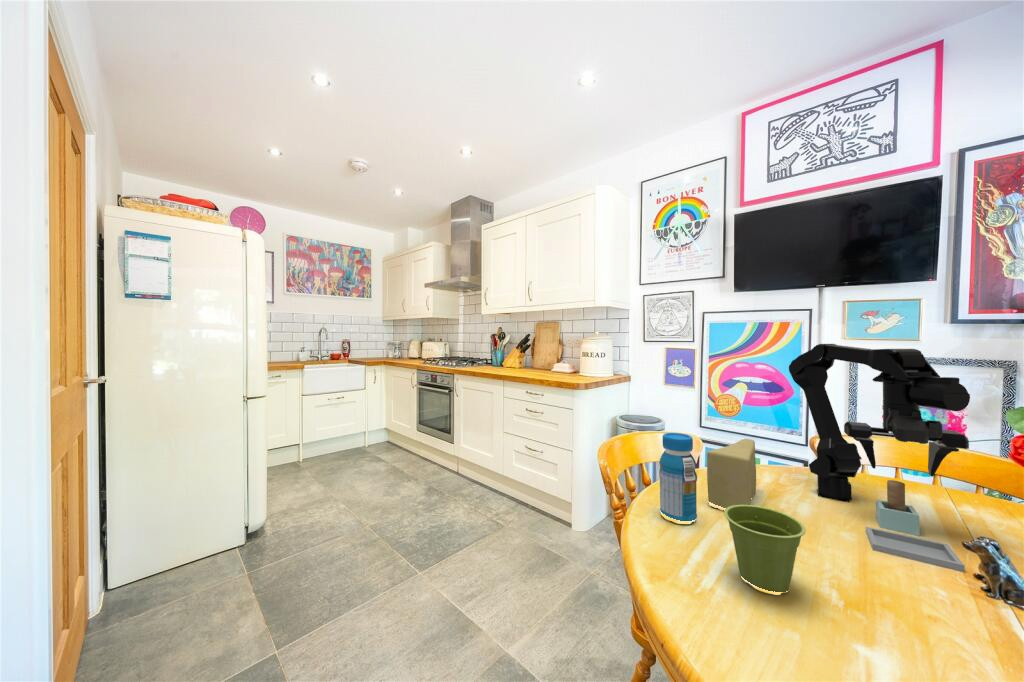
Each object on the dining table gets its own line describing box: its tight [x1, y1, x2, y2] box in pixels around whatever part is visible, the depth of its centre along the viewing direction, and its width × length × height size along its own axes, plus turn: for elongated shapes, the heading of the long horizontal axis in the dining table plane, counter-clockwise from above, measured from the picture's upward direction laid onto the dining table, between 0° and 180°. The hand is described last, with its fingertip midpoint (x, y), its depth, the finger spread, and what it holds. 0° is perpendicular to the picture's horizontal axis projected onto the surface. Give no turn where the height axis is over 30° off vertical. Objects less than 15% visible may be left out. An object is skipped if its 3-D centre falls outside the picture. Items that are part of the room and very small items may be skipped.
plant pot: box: [723, 504, 807, 592], centre depth 64 cm, size 12×12×11 cm
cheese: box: [706, 438, 757, 508], centre depth 99 cm, size 22×10×15 cm, turn 132°
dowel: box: [886, 479, 906, 512], centre depth 83 cm, size 3×3×10 cm
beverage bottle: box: [658, 432, 698, 521], centre depth 89 cm, size 8×8×20 cm
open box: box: [875, 498, 921, 537], centre depth 83 cm, size 6×6×5 cm
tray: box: [865, 526, 966, 573], centre depth 73 cm, size 12×9×2 cm
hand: (901, 471), depth 83 cm, fingers open, 9 cm apart
